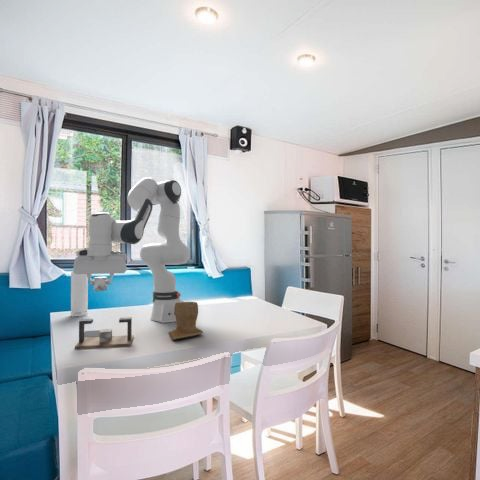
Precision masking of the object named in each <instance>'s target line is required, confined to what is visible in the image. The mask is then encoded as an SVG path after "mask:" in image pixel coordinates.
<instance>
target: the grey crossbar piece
mask: <svg viewBox="0 0 480 480" xmlns="http://www.w3.org/2000/svg"><path fill="white" fill-rule="evenodd" d="M93 280H94V285H93V290H94V291H95V292H103V291H107V290H108V284H107V280H108V276H97V277H96V276H95V277H93Z"/></svg>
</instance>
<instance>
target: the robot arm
mask: <svg viewBox="0 0 480 480" xmlns="http://www.w3.org/2000/svg"><path fill="white" fill-rule="evenodd" d="M181 195H182V187H181V185H180V183H179V182H178V181H177V180H174V179H168V180H164V181H160V182H156V180H155V179H154V178H152V177H148V176H147V177H143V178H141V179H140V180H139V181H138V182H137V183H136V184H135V185H134V186H133V187H132V188H131V189H130V190H129V192H128V194H127V196H126V197H127V199H126V201H127V204H128V205H129V207H131V209H132V210H133V211H135V212H136V214H135V216H134V218H132V219H131V220H117V219H114V218H113V217H112V215H111V214H110V213H109V212H106V211H101V212H94V213H92V214H91V215H90V217H89V221H88V236H89V241H88V247H85V248H83V249H78V250H77V251H76V252H75V253H76V257H75V258H74V262H73V268H72V269H73V270H72V271H73V272H74V273H75V274H87V278H88V282H89V286H94V279H92V275H93V274H95V275H102V274H103V275H104V274H105V275H106V274H108V275H109V276H110V277H109V279H107V285H112V279H113V278H114V276H115V274H125V273H127V272H126V271H127V262H126V261H127V260H128V255H127V253H126V252H124V251H123V250H120V251H116V250H113V244H115V243H116V244H129V245H136V244H138V243H139V242H140V241H141V240H142V239H143V236H144V233H145V228H146V226H147V223H148V221H149V219H150V216H151V214H152V212H153V206H156V205H160V212H159V216H158V223H157V234H158V235H159V236H160V237H161V238H163V239H165V240H166V243H164V242H163V243H157V242H155V243H154V242H153V243H152V242H151V243H148V244H143V246H142V247H141V249H140V252H139V257H140V260H141V262H143V263H144V264H145V265H146V266H147V267H148V268H149V269H150V272H151V274H152V277H153V278H152V279H153V292H152V303H153V304H152V310H151V315H150V317H149V318H150V320H151V321H153V322H159V323H163V324H164V323H175V322H176V316H175V312H174V307H175V303H176V302H185V301H184V300H182V299H181V298H180V297H181V293H180V292H179V291H177V289H176V287H177V286H176V279H177V278H176V276H175V275H174V273H173V272H171V271H169V270H168V269H167V268H166V265H174V266H177V265H183V264H186V263H187V262H188V261H189V259H190V255H191V252H190V249H189V247H188V246H187V245H186V244H185V243H184V242H183V240H182V239H181V236H180V219H181V208H180V204H179V202H180V199H181ZM176 323H177V322H176Z"/></svg>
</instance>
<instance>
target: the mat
mask: <svg viewBox="0 0 480 480" xmlns="http://www.w3.org/2000/svg"><path fill="white" fill-rule="evenodd" d="M101 330H102V329H100V330H84V337H99V335H100V331H101Z"/></svg>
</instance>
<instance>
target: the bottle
mask: <svg viewBox="0 0 480 480" xmlns="http://www.w3.org/2000/svg"><path fill="white" fill-rule="evenodd" d="M88 282H89V279H88V278H87V274H75V273H74V272H73V270H71V272H70V283H71V284H70V316H71V317H74V316H79V317H83V316H84V317H85V316H88V314H89V313H88V310H89V309H88V308H89V307H88V306H89V305H88V304H89V303H88V302H89V298H88V297H89V296H88V294H89V292H88V291H89V283H88Z"/></svg>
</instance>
